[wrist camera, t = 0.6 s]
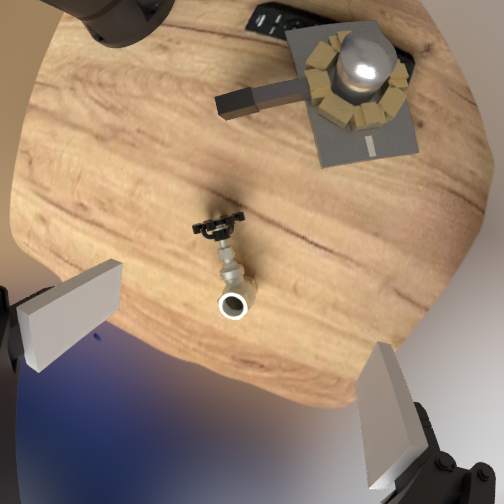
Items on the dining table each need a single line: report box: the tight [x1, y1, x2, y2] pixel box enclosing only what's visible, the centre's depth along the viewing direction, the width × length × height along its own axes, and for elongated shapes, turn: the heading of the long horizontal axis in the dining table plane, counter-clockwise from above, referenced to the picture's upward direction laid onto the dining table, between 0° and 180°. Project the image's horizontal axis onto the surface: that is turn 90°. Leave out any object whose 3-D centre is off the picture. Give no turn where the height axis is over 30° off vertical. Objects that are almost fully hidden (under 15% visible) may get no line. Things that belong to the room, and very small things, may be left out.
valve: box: [192, 212, 258, 320], centre depth 37 cm, size 7×7×12 cm
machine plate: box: [285, 20, 419, 169], centre depth 26 cm, size 18×12×13 cm, turn 13°
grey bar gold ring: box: [215, 30, 409, 131], centre depth 28 cm, size 11×21×4 cm, turn 103°
